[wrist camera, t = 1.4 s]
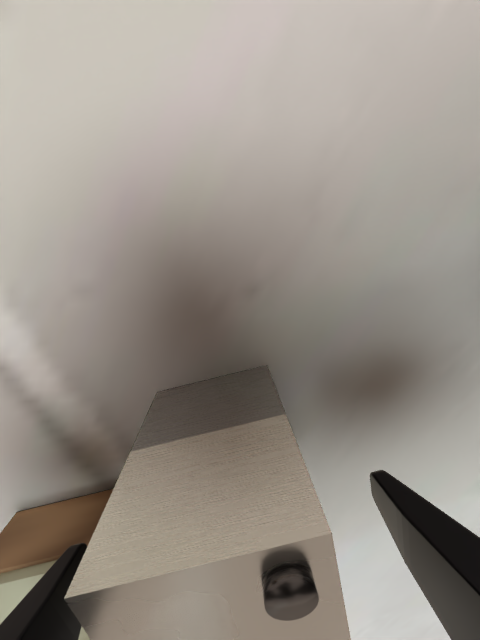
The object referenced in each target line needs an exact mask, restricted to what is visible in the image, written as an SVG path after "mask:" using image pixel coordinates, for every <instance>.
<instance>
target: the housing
mask: <svg viewBox="0 0 480 640" xmlns="http://www.w3.org/2000/svg"><path fill="white" fill-rule="evenodd" d="M64 600H65V601H66V603H67V604H68V606H69V607H70V609H71V610H72V612H73V613H74V615H75V616H76V618H77V619H78V621H79V622H80V624H81V626H82V627H83V629H84V630H85V632H86V633H87V635H88V636H89V638H90V639H91V640H351V638H350V633H349V627H348V622H347V616H346V610H345V605H344V599H343V594H342V588H341V582H340V577H339V571H338V566H337V560H336V554H335V549H334V543H333V538H332V533H331V530H330V527H329V525H328V522H327V520H326V517H325V515H324V512H323V509H322V507H321V504H320V502H319V499H318V496H317V494H316V491H315V489H314V486H313V483H312V481H311V478H310V476H309V473H308V471H307V468H306V465H305V463H304V460H303V458H302V455H301V452H300V450H299V447H298V445H297V442H296V439H295V437H294V434H293V432H292V429H291V426H290V424H289V421H288V419H287V416H286V414H285V411H284V408H283V406H282V403H281V401H280V398H279V395H278V393H277V390H276V388H275V385H274V382H273V380H272V377H271V375H270V372H269V370H268V367H267V365H266V366H262V367H258V368H254V369H250V370H245V371H241V372H237V373H233V374H229V375H225V376H221V377H217V378H212V379H208V380H204V381H200V382H196V383H192V384H188V385H184V386H180V387H175V388H171V389H167V390H163V391H159V392H157V394H156V396H155V398H154V400H153V402H152V405H151V407H150V409H149V411H148V414H147V416H146V418H145V420H144V422H143V425H142V427H141V429H140V431H139V433H138V436H137V438H136V440H135V442H134V445H133V447H132V449H131V451H130V453H129V456H128V458H127V460H126V462H125V465H124V467H123V469H122V471H121V473H120V476H119V478H118V480H117V482H116V484H115V487H114V489H113V491H112V493H111V496H110V498H109V500H108V502H107V504H106V507H105V509H104V511H103V513H102V515H101V518H100V520H99V522H98V524H97V527H96V529H95V531H94V533H93V535H92V538H91V540H90V542H89V544H88V547H87V549H86V551H85V553H84V555H83V558H82V560H81V562H80V564H79V566H78V569H77V571H76V573H75V575H74V578H73V580H72V582H71V584H70V586H69V589H68V591H67V593H66V595H65V597H64Z"/></svg>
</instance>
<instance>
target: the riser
mask: <svg viewBox="0 0 480 640" xmlns="http://www.w3.org/2000/svg"><path fill="white" fill-rule="evenodd" d="M112 491H113V489H110V490H106V491H102V492H98V493H94V494H90V495H86V496H82V497H78V498H73V499H69V500H65V501H61V502H57V503H53V504H49V505H45V506H41V507H37V508H32V509H28V510H24V511H20V512H17V513H16V514H15V515H14V517H13V518H12V519H11V520H10V522H9V523H8V524H7V526H6V527H5V528H4V529H3V531H2V532H1V533H0V624H1V623H2V622H3V621H4V620H5V618H6V617H7V616H8V615H9V614H10V613H11V612H12V610H13V609H14V608H15V607H16V606H17V605H18V604H19V603H20V601H21V600H22V599H23V598H24V597H25V596H26V595H27V594H28V592H29V591H30V590H31V589H32V588H33V587H34V586H35V584H36V583H37V582H38V581H39V580H40V579H41V578H42V577H43V575H44V574H45V573H46V572H47V571H48V570H49V569H50V568H51V566H52V565H53V564H54V563H55V562H56V561H57V560H58V558H59V557H60V556H61V555H62V554H63V553H64V552H65V551H66V549H67V548H69V547H70V546H72V545H75V544H79V543H85V544H86V545H87V546H88V544H89V542H90V540H91V538H92V535H93V533H94V531H95V529H96V527H97V524H98V522H99V520H100V518H101V515H102V513H103V511H104V509H105V507H106V504H107V502H108V500H109V498H110V496H111V493H112ZM78 640H91V639H90V638H89V636H88V635H87V633H86V632H85V630H84V629H83V627H81V631H80V635H79V639H78Z"/></svg>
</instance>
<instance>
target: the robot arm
mask: <svg viewBox="0 0 480 640" xmlns="http://www.w3.org/2000/svg"><path fill="white" fill-rule="evenodd" d="M370 482H371V491H372V496H373V498H374V501H375V503H376V505H377V507H378V509H379V511H380V513H381V515H382V517H383V519H384V521H385V523H386V525H387V527H388V529H389V531H390V533H391V535H392V537H393V539H394V541H395V543H396V545H397V547H398V549H399V551H400V553H401V555H402V557H403V559H404V561H405V563H406V565H407V566H408V568H409V570H410V572H411V573H412V575H413V577H414V578H415V580H416V582H417V583H418V585H419V587H420V588H421V590H422V592H423V593H424V595H425V597H426V598H427V600H428V602H429V603H430V605H431V607H432V608H433V610H434V612H435V613H436V615H437V617H438V618H439V620H440V622H441V623H442V625H443V627H444V628H445V630H446V632H447V633H448V635H449V636H450V638H451V640H480V537H478V536H477V535H475V534H474V533H472V532H471V531H470V530H468V529H467V528H465V527H464V526H463V525H461V524H460V523H458V522H457V521H455V520H454V519H453V518H451V517H450V516H448V515H447V514H445V513H444V512H443V511H441V510H440V509H438V508H437V507H435V506H434V505H433V504H431V503H430V502H428V501H427V500H426V499H424V498H423V497H421V496H420V495H418V494H417V493H416V492H414V491H413V490H411V489H410V488H408V487H407V486H406V485H404V484H403V483H401V482H400V481H399V480H397V479H396V478H394V477H393V476H391V475H390V474H389V473H387V472H386V471H383V470H379V471H375V472H371V473H370ZM87 547H88V546H87V545H86V544H85V543H79V544H75V545H72V546H70V547H69V548H67V549H66V551H65V552H64V553H63V554H62V555H61V556H60V557H59V558H58V560H57V561H56V562H55V563H54V564H53V565H52V566H51V568H50V569H49V570H48V571H47V572H46V573H45V574H44V575H43V577H42V578H41V579H40V580H39V581H38V582H37V583H36V584H35V586H34V587H33V588H32V589H31V590H30V591H29V592H28V594H27V595H26V596H25V597H24V598H23V599H22V600H21V601H20V603H19V604H18V605H17V606H16V607H15V608H14V609H13V610H12V612H11V613H10V614H9V615H8V616H7V617H6V618H5V620H4V621H3V622H2V623H1V624H0V640H78V639H79V635H80V631H81V627H82V626H81V624H80V622H79V621H78V619H77V618H76V616H75V615H74V613H73V612H72V610H71V609H70V607H69V606H68V604H67V603H66V601H65V600H64V597H65V595H66V593H67V591H68V589H69V586H70V584H71V582H72V580H73V578H74V575H75V573H76V571H77V569H78V566H79V564H80V562H81V560H82V558H83V555H84V553H85V551H86V549H87Z"/></svg>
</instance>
